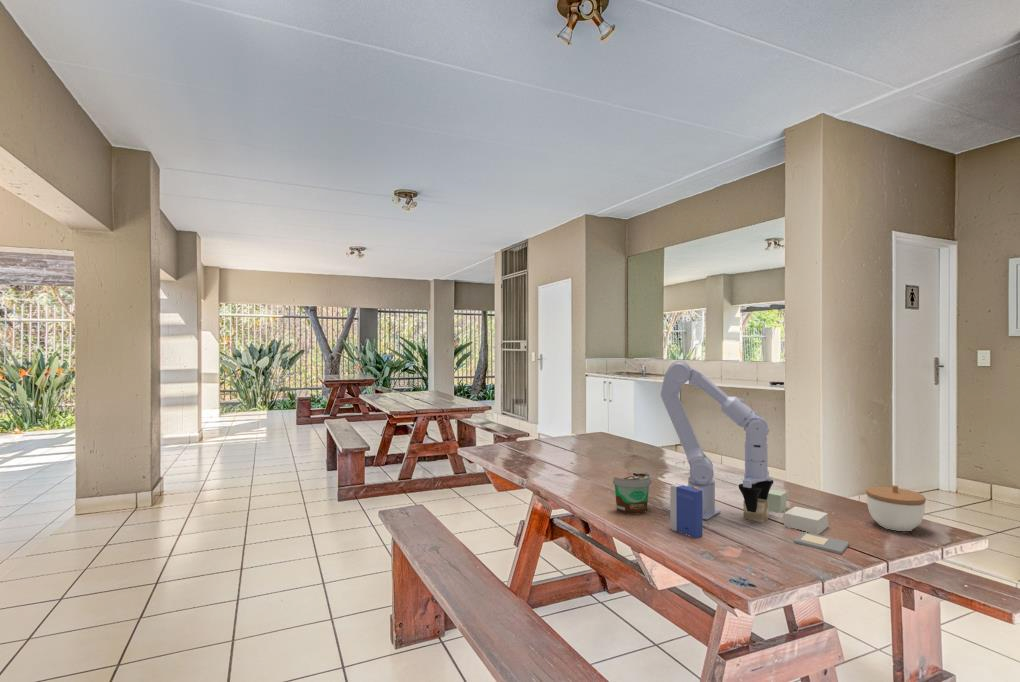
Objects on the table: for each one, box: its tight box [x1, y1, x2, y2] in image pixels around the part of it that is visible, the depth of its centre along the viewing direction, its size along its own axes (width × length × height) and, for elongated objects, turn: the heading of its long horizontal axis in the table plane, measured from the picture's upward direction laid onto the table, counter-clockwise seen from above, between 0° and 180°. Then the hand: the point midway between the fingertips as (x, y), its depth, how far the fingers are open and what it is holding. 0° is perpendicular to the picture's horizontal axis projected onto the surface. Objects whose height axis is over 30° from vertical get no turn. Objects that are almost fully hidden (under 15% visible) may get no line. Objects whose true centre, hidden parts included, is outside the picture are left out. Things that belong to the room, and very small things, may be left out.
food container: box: [612, 472, 653, 515], centre depth 152 cm, size 12×6×10 cm, turn 114°
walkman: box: [669, 483, 703, 539], centre depth 135 cm, size 8×3×12 cm, turn 35°
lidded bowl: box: [865, 484, 926, 532], centre depth 138 cm, size 13×13×11 cm
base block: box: [783, 506, 829, 535], centre depth 139 cm, size 8×8×4 cm
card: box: [793, 531, 850, 555], centre depth 127 cm, size 8×10×1 cm
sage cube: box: [767, 488, 787, 513], centre depth 153 cm, size 5×5×5 cm
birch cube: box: [743, 499, 770, 524], centre depth 146 cm, size 5×5×5 cm
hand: (756, 508), depth 146 cm, fingers open, 7 cm apart
